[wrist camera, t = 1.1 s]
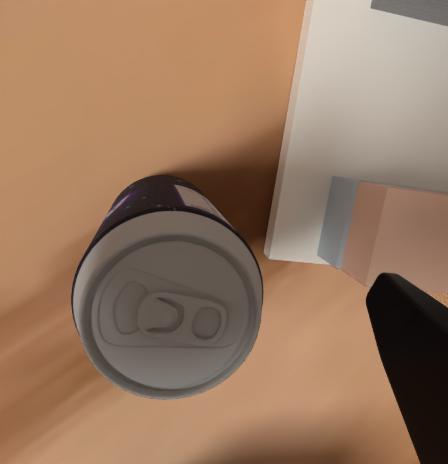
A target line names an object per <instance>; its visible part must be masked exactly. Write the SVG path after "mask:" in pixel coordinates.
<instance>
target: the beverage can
mask: <svg viewBox="0 0 448 464" xmlns="http://www.w3.org/2000/svg"><path fill="white" fill-rule="evenodd" d="M262 304H263V281H262V276H261V271H260V268H259V265H258V262H257V260H256V258H255V256H254V254H253V252H252V250H251V249H250V247H249V246H248V244H247V243H246V242H245V240H244V239H243V238H242V237H241V236H240V235H239V234H238V232H237V231H236V230H235V229H234V228H233V227H232V226H231V225H230V223H229V222H228V221H227V220H226V219H225V218H224V217H223V216H222V215H221V213H220V212H219V211H218V210H217V209H216V208H215V207H214V206H213V204H212V203H211V202H210V201H209V200H208V199H207V198H206V197H205V196H204V194H203V193H202V192H201V191H200V190H199V189H198V188H196V187H195V186H194V185H192V184H191V183H189V182H187V181H185V180H183V179H180V178H177V177H173V176H166V175H157V176H150V177H146V178H143V179H140V180H138V181H136V182H134V183H133V184H131V185H129V186H128V187H127V188H126V189H125V190H123V191H122V192H121V193H120V195H119V196H118V197H117V199H116V200H115V202H114V203H113V205H112V207H111V209H110V210H109V212H108V214H107V216H106V217H105V219H104V221H103V223H102V224H101V226H100V228H99V230H98V231H97V233H96V235H95V237H94V238H93V240H92V242H91V244H90V245H89V247H88V249H87V251H86V252H85V254H84V256H83V258H82V260H81V261H80V264H79V266H78V268H77V271H76V274H75V277H74V281H73V286H72V295H71V305H72V313H73V319H74V322H75V326H76V328H77V331H78V333H79V335H80V338H81V341H82V344H83V347H84V349H85V352H86V354H87V356H88V357H89V359H90V361H91V362H92V364H93V365H94V366H95V368H96V369H97V370H98V371H99V372H100V373H101V375H103V376H104V377H105V378H106V379H107V380H109V381H110V382H111V383H112V384H114V385H116V386H117V387H119V388H121V389H122V390H124V391H127V392H129V393H132V394H134V395H137V396H141V397H146V398H151V399H161V400H166V399H180V398H185V397H190V396H193V395H196V394H199V393H203V392H205V391H207V390H209V389H211V388H213V387H215V386H217V385H218V384H220V383H221V382H223V381H224V380H226V379H227V378H228V377H229V376H230V375H231V374H233V373H234V372H235V371H236V370H237V369H238V368H239V366H240V365H241V364H242V363H243V362H244V361H245V359H246V358H247V356H248V354H249V353H250V351H251V350H252V348H253V345H254V343H255V341H256V338H257V335H258V332H259V328H260V323H261V310H262Z"/></svg>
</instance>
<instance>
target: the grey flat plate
mask: <svg viewBox="0 0 448 464" xmlns="http://www.w3.org/2000/svg"><path fill="white" fill-rule="evenodd" d="M370 8H371V9H375V10H380V11H384V12H388V13H392V14H397V15H401V16H405V17H409V18H414V19H418V20H422V21H426V22H431V23H435V24H439V25H444V26H448V0H372V2H371V7H370Z"/></svg>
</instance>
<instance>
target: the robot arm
mask: <svg viewBox="0 0 448 464" xmlns="http://www.w3.org/2000/svg"><path fill="white" fill-rule="evenodd" d="M366 306H367V310H368V313H369V317H370V321H371V325H372V328H373V332H374V336H375V340H376V343H377V347H378V351H379V354H380V358H381V361H382V363H383V366H384V369H385V372H386V374H387V377H388V380H389V382H390V385H391V387H392V390H393V393H394V395H395V398H396V401H397V403H398V406H399V409H400V411H401V414H402V416H403V419H404V422H405V424H406V427H407V430H408V432H409V435H410V438H411V440H412V443H413V445H414V448H415V451H416V453H417V456H418V459H419V461H420V464H448V308H447V307H446V306H444V305H443V304H441V303H440V302H438V301H437V300H436V299H434V298H433V297H431V296H430V295H428V294H427V293H425V292H424V291H422V290H421V289H419V288H418V287H416V286H415V285H414V284H412V283H411V282H409V281H408V280H406V279H405V278H403V277H402V276H400V275H399V274H396V273H387V272H383V273H380V274H379V275H378V276H377V278H376V280H375V281H374V283H373V285H372V287H371V289H370V290H369V292H368V294H367V297H366Z"/></svg>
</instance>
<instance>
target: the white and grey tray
mask: <svg viewBox="0 0 448 464" xmlns="http://www.w3.org/2000/svg"><path fill="white" fill-rule="evenodd" d="M371 2H372V0H306V5H305V11H304V17H303V23H302V29H301V35H300V41H299V47H298V53H297V58H296V64H295V70H294V76H293V82H292V88H291V94H290V100H289V105H288V111H287V117H286V123H285V129H284V135H283V141H282V147H281V152H280V158H279V164H278V170H277V176H276V182H275V188H274V194H273V199H272V205H271V211H270V217H269V223H268V229H267V235H266V241H265V247H264V252H263V253H264V254H265V255H266V256H267V257H268V258H269V259H275V260H286V261H296V262H307V263H317V264H328V265H330V264H329V263H327V262H326V261H325V260H323V259H322V258H320V257H319V256H318V255H317V251H318V246H319V241H320V236H321V231H322V226H323V221H324V216H325V211H326V205H327V200H328V195H329V190H330V185H331V180H332V176H337V177H344V178H351V179H358V180H365V181H372V182H379V183H386V184H394V185H401V186H408V187H415V188H422V189H429V190H436V191H443V192H448V26H444V25H439V24H435V23H431V22H426V21H422V20H418V19H414V18H409V17H405V16H401V15H397V14H392V13H388V12H384V11H380V10H375V9H371V8H370V7H371Z"/></svg>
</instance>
